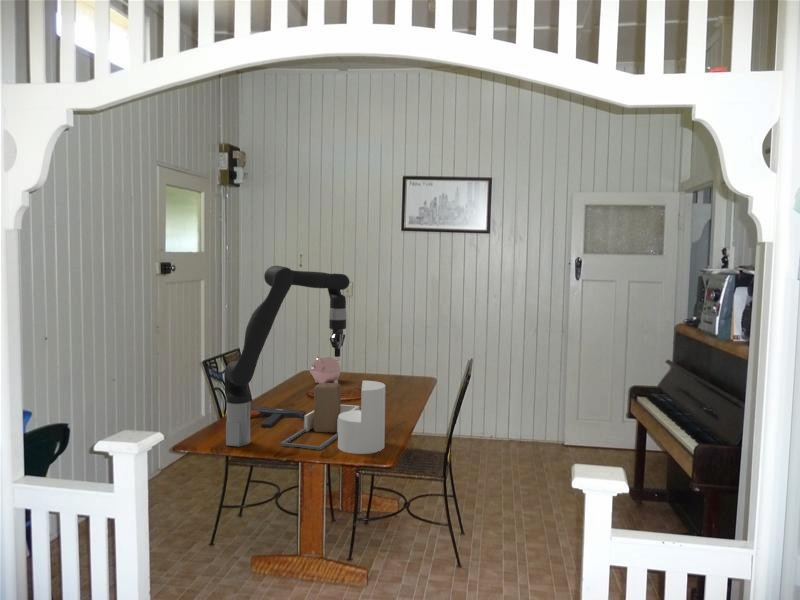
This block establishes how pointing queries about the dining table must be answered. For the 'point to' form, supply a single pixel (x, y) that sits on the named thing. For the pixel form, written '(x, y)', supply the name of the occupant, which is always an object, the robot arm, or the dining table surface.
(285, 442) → the frame
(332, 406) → the wooden block
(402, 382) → the dining table surface
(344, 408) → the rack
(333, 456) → the dining table surface
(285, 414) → the submachine gun
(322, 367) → the piggy bank
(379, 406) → the cylinder
